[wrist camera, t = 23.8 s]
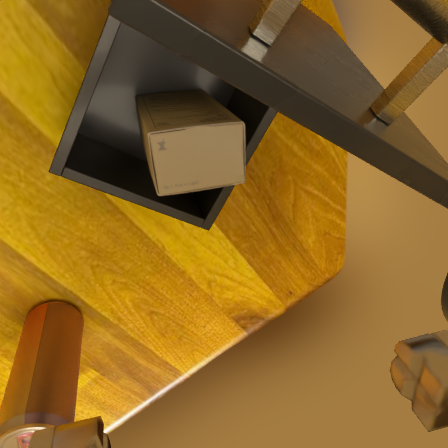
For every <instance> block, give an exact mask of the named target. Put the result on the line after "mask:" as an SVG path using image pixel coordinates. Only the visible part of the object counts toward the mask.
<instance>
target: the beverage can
mask: <svg viewBox="0 0 448 448" xmlns="http://www.w3.org/2000/svg"><path fill="white" fill-rule="evenodd" d="M82 332H83V318H82V316H81V314H80V313H79V311H78V310H77V309H76V308H74V307H73V306H71V305H70V304H67V303H64V302H47V303H44V304H41V305H39V306H37V307H36V308H34V309H33V310H32V311H31V312H30V313H29V314H28V315H27V317H26V319H25V322H24V326H23V330H22V333H21V337H20V340H19V344H18V348H17V351H16V355H15V358H14V362H13V366H12V369H11V373H10V376H9V380H8V383H7V387H6V391H5V394H4V398H3V401H2V405H1V409H0V448H29V443H30V439H31V437H32V435H33V433H34V431H37V430H41V429H46V428H50V427H54V426H59V425H63V424H67V423H72V422H74V418H75V407H76V397H77V386H78V375H79V364H80V354H81V343H82Z"/></svg>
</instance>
